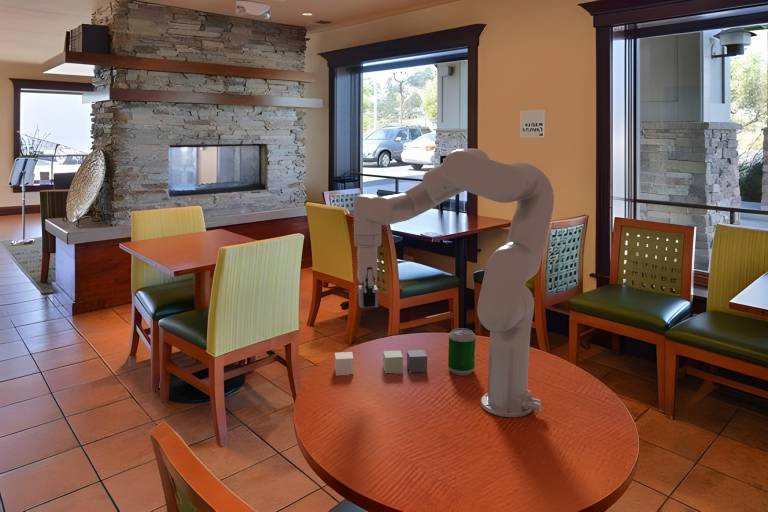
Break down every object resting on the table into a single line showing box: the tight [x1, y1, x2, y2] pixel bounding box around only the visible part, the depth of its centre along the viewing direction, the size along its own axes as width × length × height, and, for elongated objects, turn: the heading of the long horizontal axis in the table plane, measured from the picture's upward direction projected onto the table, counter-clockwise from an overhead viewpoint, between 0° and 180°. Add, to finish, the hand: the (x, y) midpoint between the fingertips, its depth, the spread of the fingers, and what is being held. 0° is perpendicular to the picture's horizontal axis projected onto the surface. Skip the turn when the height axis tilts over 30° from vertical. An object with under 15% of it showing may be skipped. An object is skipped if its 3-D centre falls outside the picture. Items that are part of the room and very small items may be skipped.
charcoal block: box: [406, 349, 428, 373], centre depth 164 cm, size 5×5×5 cm
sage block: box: [382, 350, 404, 375], centre depth 163 cm, size 5×5×5 cm
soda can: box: [447, 327, 477, 376], centre depth 161 cm, size 8×8×12 cm
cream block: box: [334, 351, 355, 377], centre depth 162 cm, size 5×5×5 cm
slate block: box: [357, 284, 379, 308], centre depth 158 cm, size 5×5×5 cm
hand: (368, 302), depth 159 cm, fingers closed on slate block, 4 cm apart
